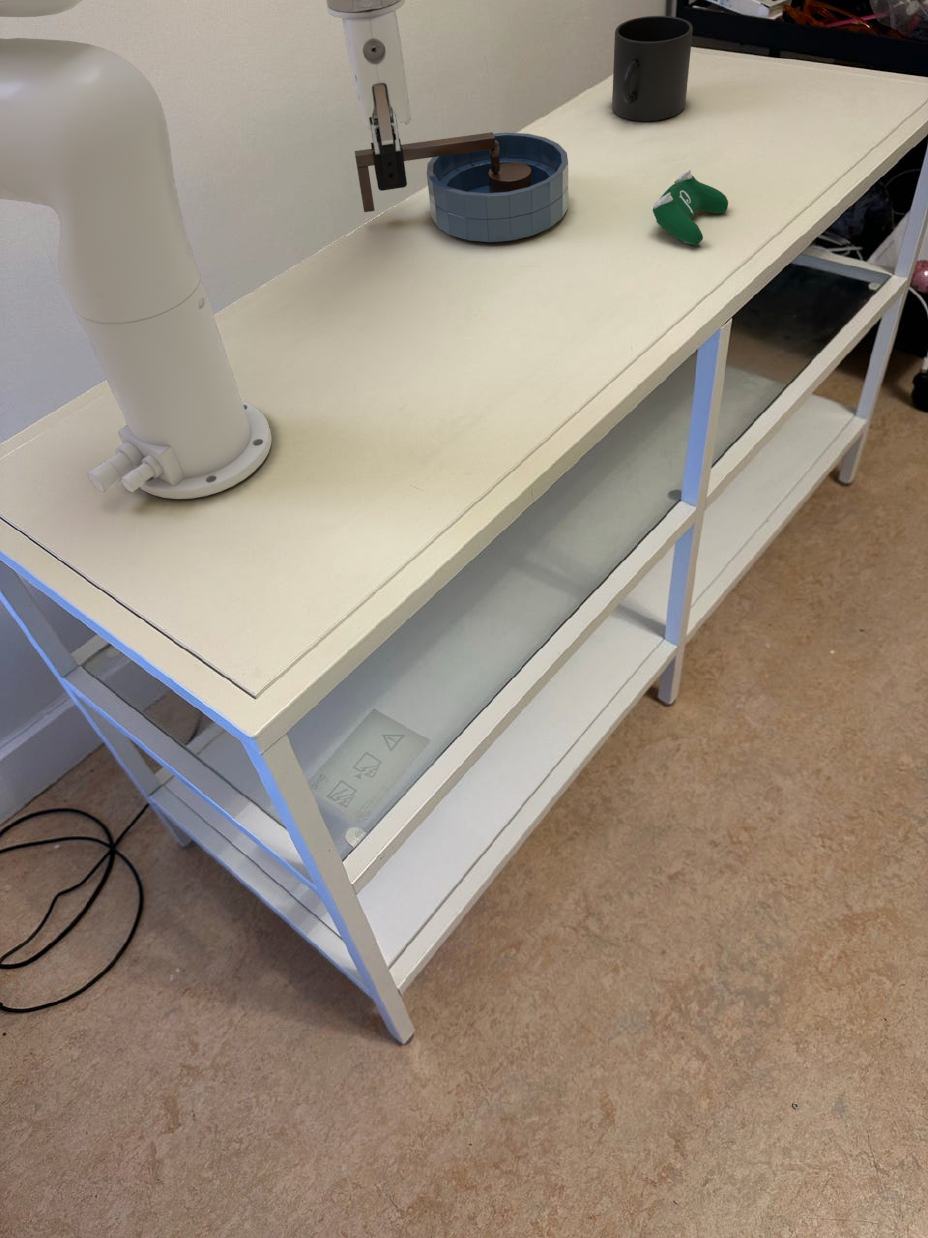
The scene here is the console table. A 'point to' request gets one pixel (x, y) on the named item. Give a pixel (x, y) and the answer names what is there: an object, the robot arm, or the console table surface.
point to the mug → (651, 67)
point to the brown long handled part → (500, 175)
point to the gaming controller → (687, 207)
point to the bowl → (503, 215)
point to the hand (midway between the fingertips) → (391, 182)
